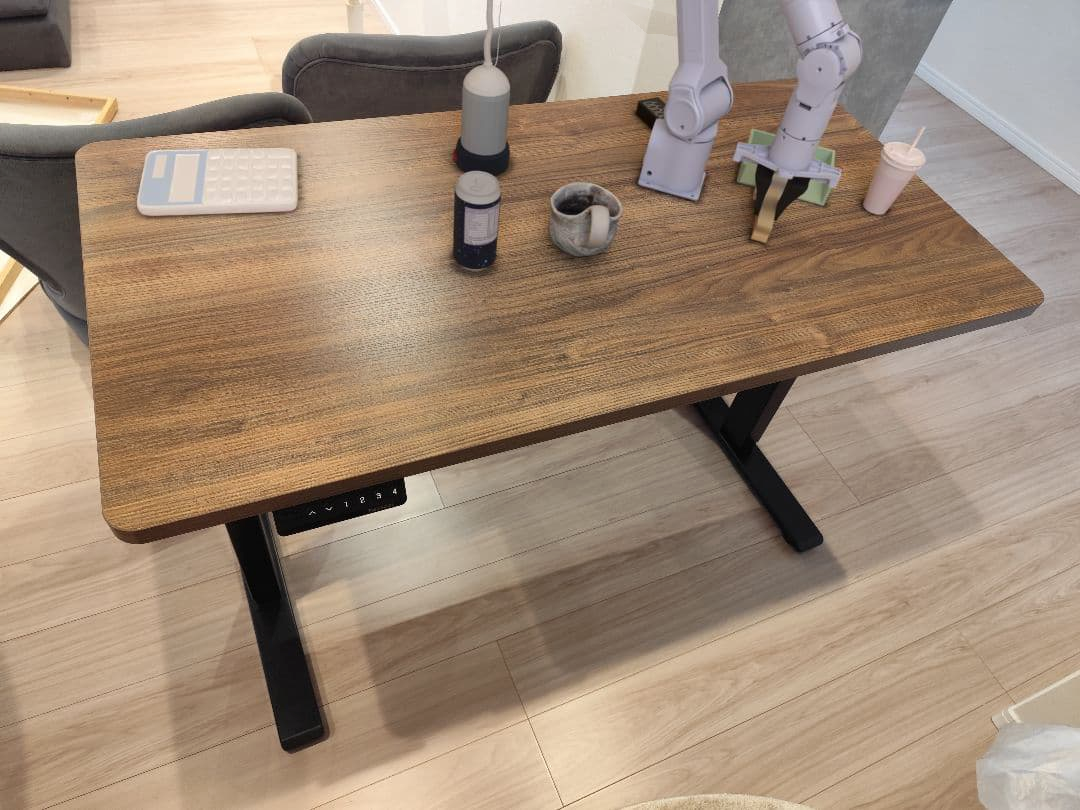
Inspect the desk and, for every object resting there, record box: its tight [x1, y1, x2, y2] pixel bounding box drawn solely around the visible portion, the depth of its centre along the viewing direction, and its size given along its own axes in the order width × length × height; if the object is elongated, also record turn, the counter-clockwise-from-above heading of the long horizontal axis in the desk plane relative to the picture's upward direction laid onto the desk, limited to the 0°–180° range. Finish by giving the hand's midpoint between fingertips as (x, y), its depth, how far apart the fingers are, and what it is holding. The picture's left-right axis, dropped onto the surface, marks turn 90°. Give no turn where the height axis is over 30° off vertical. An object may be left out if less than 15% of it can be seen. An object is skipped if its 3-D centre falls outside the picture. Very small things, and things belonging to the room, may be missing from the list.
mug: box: [547, 181, 624, 257], centre depth 97 cm, size 10×12×10 cm
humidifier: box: [452, 0, 511, 177], centre depth 102 cm, size 8×8×25 cm
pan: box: [736, 128, 836, 206], centre depth 121 cm, size 20×14×3 cm
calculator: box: [136, 147, 299, 217], centre depth 100 cm, size 13×20×2 cm, turn 102°
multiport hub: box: [635, 96, 667, 131], centre depth 123 cm, size 4×11×2 cm, turn 29°
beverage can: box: [452, 171, 502, 272], centre depth 93 cm, size 6×6×12 cm
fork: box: [750, 171, 787, 244], centre depth 110 cm, size 17×4×3 cm, turn 163°
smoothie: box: [862, 125, 927, 216], centre depth 111 cm, size 6×6×14 cm
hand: (765, 214), depth 108 cm, fingers closed on fork, 2 cm apart
